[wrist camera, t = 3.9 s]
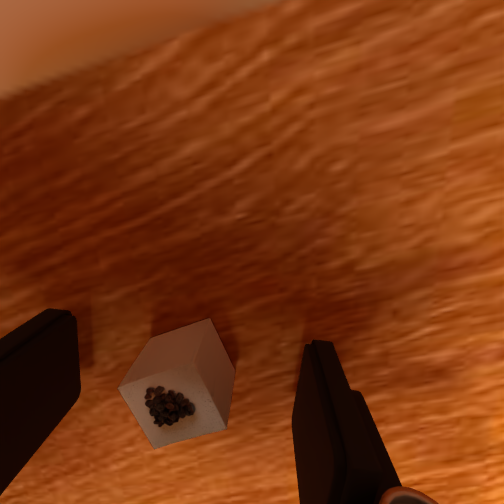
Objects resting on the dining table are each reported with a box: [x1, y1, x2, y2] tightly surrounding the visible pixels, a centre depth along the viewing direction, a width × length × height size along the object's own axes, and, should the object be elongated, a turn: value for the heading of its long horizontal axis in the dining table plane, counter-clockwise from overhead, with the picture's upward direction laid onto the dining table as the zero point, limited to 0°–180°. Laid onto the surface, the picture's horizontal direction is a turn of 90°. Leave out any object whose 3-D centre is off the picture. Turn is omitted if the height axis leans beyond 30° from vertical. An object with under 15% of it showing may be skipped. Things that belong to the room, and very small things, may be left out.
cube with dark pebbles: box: [117, 318, 235, 449], centre depth 8 cm, size 2×2×2 cm
